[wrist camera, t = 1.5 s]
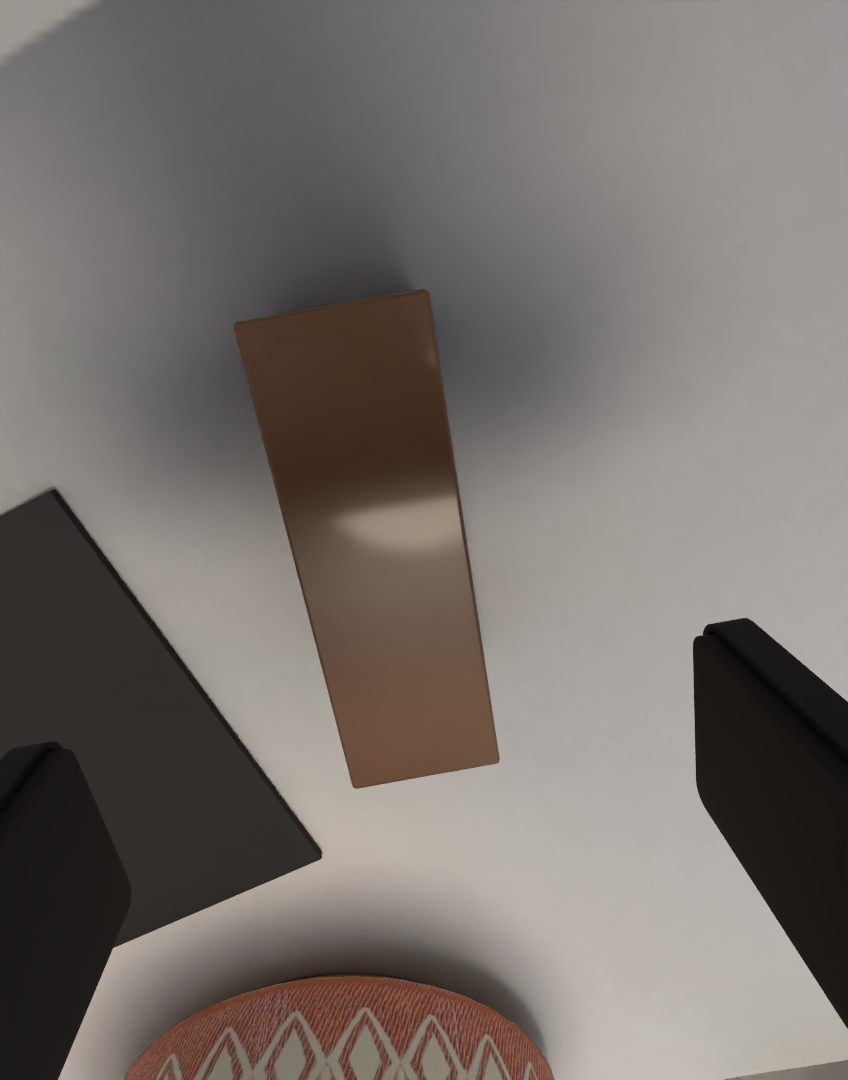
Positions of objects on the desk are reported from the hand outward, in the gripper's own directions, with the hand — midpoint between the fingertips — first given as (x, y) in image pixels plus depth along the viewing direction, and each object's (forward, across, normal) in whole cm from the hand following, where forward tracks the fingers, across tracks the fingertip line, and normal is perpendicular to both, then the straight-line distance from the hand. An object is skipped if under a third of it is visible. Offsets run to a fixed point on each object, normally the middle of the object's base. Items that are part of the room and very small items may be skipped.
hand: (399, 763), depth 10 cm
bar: (+11, 0, -1) cm, 11 cm away
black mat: (+11, +13, +6) cm, 18 cm away
